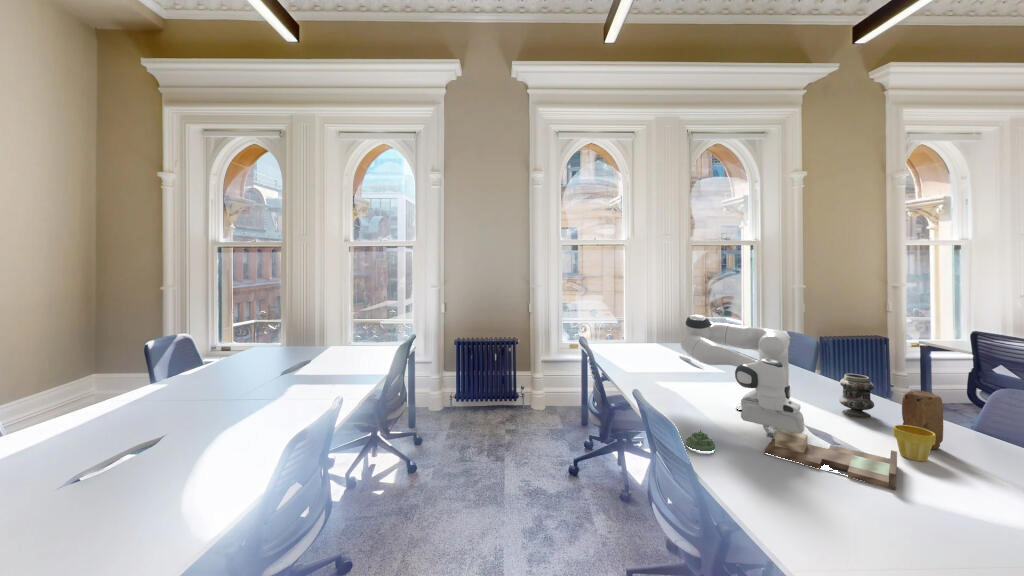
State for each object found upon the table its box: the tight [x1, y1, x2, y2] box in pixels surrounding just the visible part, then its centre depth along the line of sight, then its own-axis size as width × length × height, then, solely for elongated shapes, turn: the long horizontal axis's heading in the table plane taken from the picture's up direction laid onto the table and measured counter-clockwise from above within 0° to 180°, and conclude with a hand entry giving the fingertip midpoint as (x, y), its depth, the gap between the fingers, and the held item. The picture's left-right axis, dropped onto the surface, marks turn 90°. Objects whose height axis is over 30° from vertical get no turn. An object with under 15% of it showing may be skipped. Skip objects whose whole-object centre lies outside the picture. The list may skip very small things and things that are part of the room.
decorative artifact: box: [685, 429, 716, 451], centre depth 147 cm, size 10×7×10 cm
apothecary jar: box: [838, 373, 875, 419], centre depth 177 cm, size 12×12×18 cm
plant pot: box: [892, 424, 936, 462], centre depth 136 cm, size 10×10×10 cm
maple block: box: [775, 429, 809, 453], centre depth 143 cm, size 8×8×4 cm
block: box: [901, 390, 944, 450], centre depth 145 cm, size 11×8×20 cm
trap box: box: [764, 438, 898, 491], centre depth 135 cm, size 34×20×5 cm, turn 44°
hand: (771, 437), depth 147 cm, fingers closed
